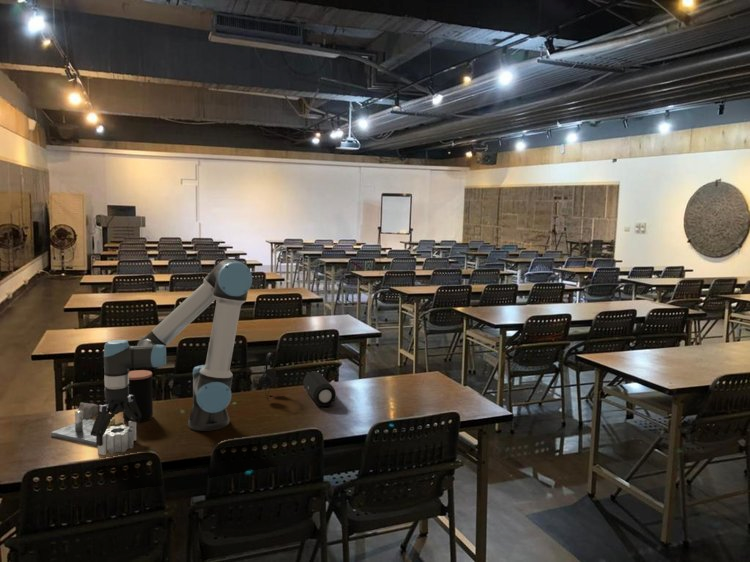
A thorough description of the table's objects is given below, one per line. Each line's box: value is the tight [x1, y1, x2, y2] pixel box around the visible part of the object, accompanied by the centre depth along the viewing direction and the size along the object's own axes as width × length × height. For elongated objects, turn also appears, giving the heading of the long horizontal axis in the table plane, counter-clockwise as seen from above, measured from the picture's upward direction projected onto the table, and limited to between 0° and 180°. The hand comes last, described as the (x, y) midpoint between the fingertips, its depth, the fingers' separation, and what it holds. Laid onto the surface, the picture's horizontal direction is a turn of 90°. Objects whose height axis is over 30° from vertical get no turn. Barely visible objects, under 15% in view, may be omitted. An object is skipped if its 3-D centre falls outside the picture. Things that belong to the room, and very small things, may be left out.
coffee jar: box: [122, 369, 154, 424], centre depth 217 cm, size 11×11×18 cm
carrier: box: [50, 409, 125, 448], centre depth 200 cm, size 22×15×8 cm
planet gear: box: [104, 424, 135, 454], centre depth 190 cm, size 10×10×6 cm
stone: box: [77, 402, 99, 420], centre depth 218 cm, size 10×8×6 cm
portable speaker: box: [302, 370, 337, 407], centre depth 249 cm, size 26×10×10 cm, turn 20°
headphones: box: [258, 352, 277, 399], centre depth 248 cm, size 15×11×20 cm
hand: (117, 446), depth 190 cm, fingers open, 13 cm apart
